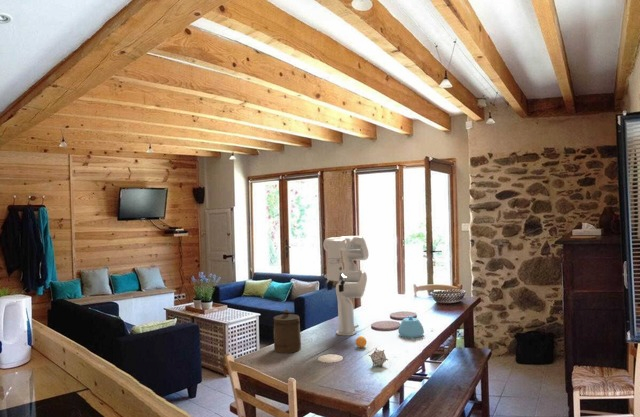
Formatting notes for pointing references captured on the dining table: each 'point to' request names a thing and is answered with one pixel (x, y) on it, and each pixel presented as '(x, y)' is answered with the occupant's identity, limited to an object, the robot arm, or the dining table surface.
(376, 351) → the game die
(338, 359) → the cream disc
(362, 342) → the ball
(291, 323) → the wooden container
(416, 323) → the sugar bowl
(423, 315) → the dining table surface
